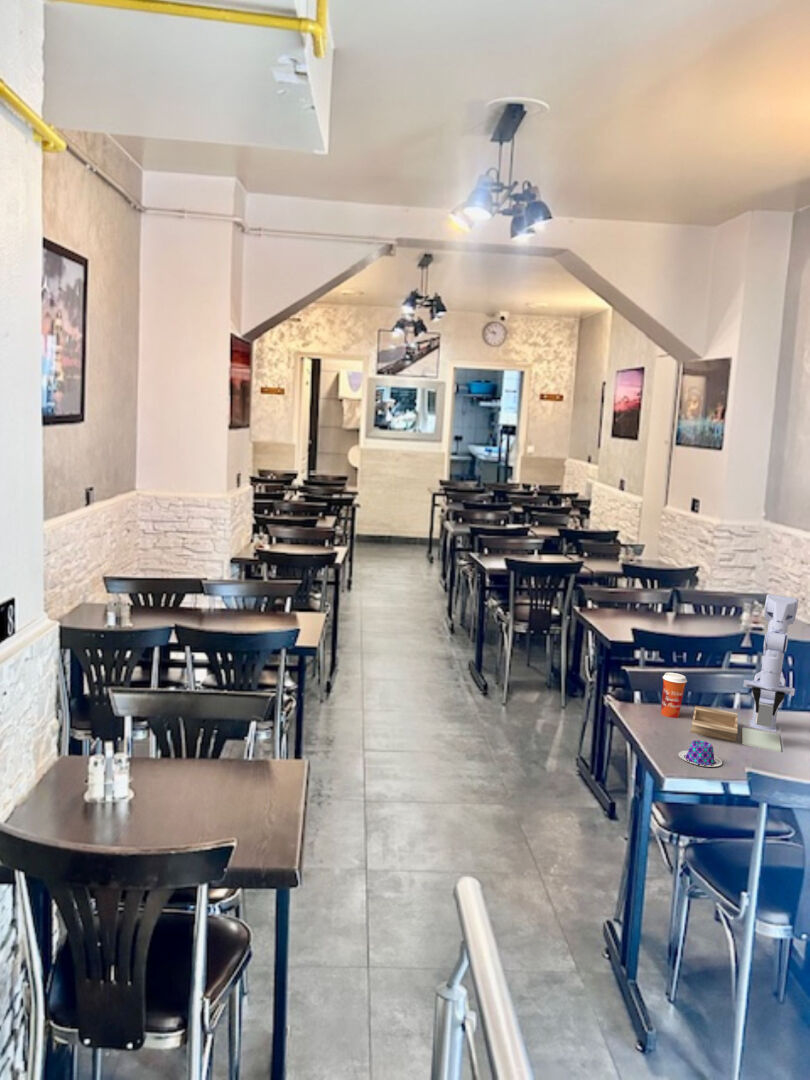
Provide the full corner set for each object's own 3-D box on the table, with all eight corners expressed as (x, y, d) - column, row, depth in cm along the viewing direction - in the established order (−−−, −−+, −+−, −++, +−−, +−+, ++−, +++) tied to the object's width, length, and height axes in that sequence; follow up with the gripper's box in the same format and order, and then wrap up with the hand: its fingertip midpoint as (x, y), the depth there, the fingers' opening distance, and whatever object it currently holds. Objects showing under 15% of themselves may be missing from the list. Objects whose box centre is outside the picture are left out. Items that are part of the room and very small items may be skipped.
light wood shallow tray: (693, 718, 287) (695, 705, 287) (735, 726, 283) (737, 713, 282) (690, 737, 268) (691, 723, 267) (735, 746, 263) (737, 732, 262)
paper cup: (657, 717, 285) (663, 676, 283) (657, 710, 292) (663, 670, 290) (682, 721, 283) (687, 680, 281) (681, 715, 290) (687, 674, 288)
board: (741, 730, 280) (742, 727, 279) (778, 737, 276) (779, 734, 276) (741, 745, 265) (742, 742, 265) (780, 753, 261) (781, 750, 261)
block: (755, 722, 274) (758, 703, 274) (769, 724, 272) (771, 705, 273) (756, 724, 266) (759, 705, 267) (770, 727, 265) (773, 707, 265)
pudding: (718, 772, 241) (721, 754, 241) (674, 761, 247) (677, 744, 246) (724, 759, 252) (727, 742, 251) (682, 749, 257) (684, 732, 257)
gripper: (746, 669, 265) (740, 712, 267) (797, 678, 260) (790, 721, 262) (746, 664, 272) (740, 705, 274) (796, 672, 267) (789, 715, 269)
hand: (764, 713), depth 268 cm, fingers closed on block, 4 cm apart
